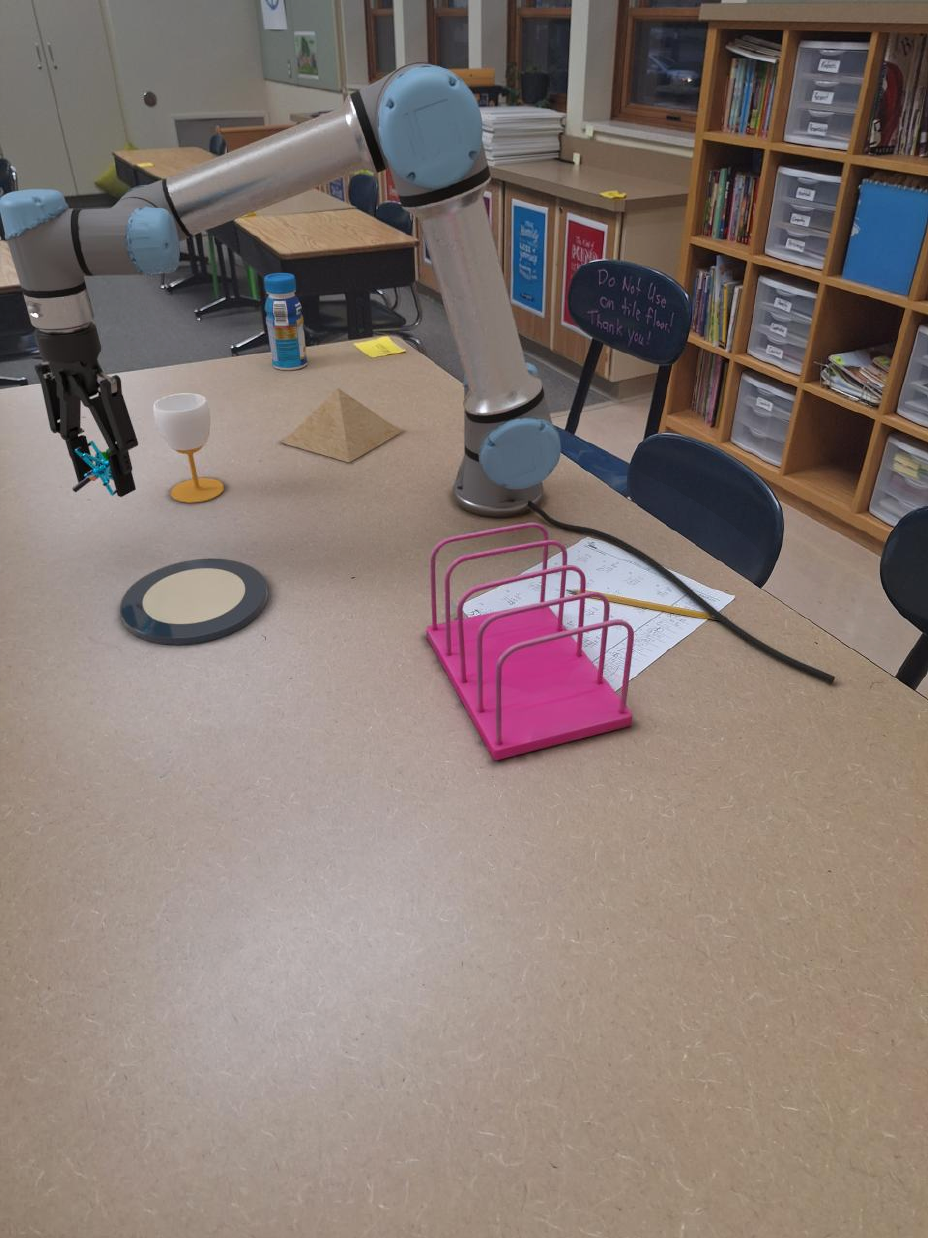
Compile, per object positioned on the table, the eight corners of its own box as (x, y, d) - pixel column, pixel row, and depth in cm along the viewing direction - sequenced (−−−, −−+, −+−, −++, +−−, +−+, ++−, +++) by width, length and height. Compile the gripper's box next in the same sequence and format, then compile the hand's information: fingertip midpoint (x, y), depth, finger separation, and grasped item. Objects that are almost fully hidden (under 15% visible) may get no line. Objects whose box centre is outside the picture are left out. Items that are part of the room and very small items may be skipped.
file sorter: (494, 763, 96) (496, 651, 87) (425, 637, 115) (421, 534, 106) (632, 726, 100) (648, 617, 91) (544, 611, 120) (550, 511, 110)
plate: (296, 586, 125) (295, 579, 124) (199, 662, 111) (198, 654, 110) (193, 552, 133) (191, 545, 132) (90, 618, 119) (88, 611, 118)
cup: (159, 497, 148) (139, 408, 138) (192, 475, 154) (174, 389, 145) (203, 506, 145) (185, 416, 136) (234, 484, 152) (219, 396, 142)
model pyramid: (404, 430, 170) (402, 381, 165) (349, 463, 159) (344, 411, 153) (338, 413, 178) (334, 366, 172) (281, 443, 166) (274, 393, 160)
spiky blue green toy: (117, 489, 118) (78, 442, 116) (80, 518, 119) (41, 472, 117) (149, 475, 129) (114, 431, 127) (115, 501, 131) (80, 459, 129)
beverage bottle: (264, 366, 201) (252, 276, 190) (292, 356, 207) (281, 269, 195) (288, 374, 197) (276, 283, 185) (315, 364, 202) (306, 275, 191)
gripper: (-14, 321, 111) (37, 481, 125) (96, 345, 104) (138, 513, 117) (35, 306, 117) (79, 462, 130) (142, 328, 109) (177, 491, 122)
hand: (107, 486), depth 123 cm, fingers closed on spiky blue green toy, 7 cm apart
